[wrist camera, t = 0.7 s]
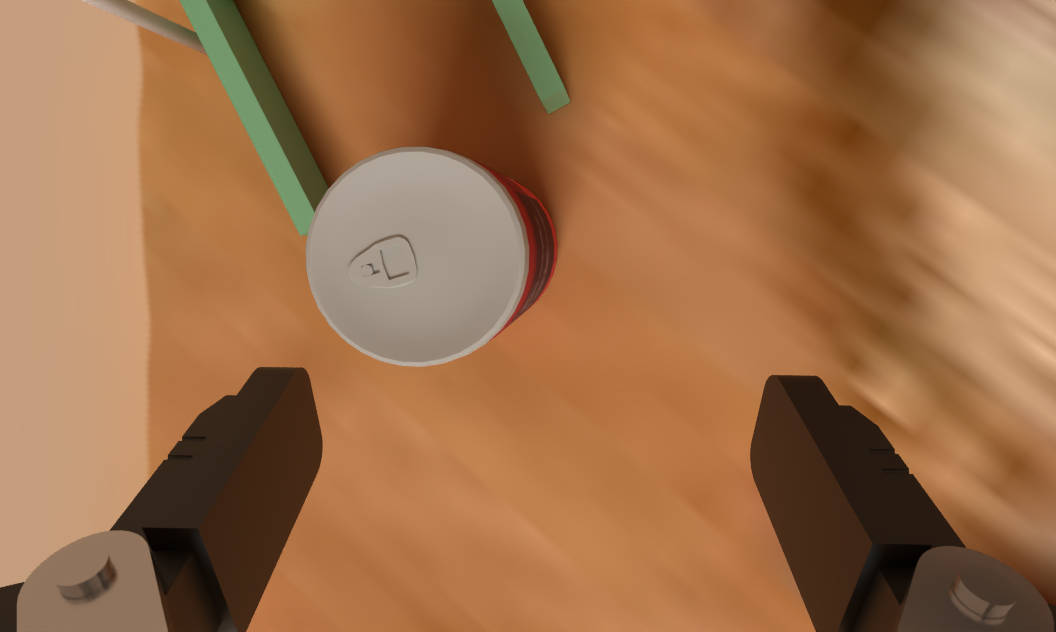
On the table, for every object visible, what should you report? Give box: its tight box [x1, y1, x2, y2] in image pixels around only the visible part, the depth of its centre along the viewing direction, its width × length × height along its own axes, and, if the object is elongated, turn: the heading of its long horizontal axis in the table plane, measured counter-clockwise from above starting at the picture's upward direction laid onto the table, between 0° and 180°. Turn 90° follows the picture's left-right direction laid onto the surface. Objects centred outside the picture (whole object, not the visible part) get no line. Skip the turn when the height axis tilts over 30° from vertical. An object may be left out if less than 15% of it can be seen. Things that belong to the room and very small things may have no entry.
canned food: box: [306, 147, 557, 367], centre depth 26 cm, size 8×8×11 cm
